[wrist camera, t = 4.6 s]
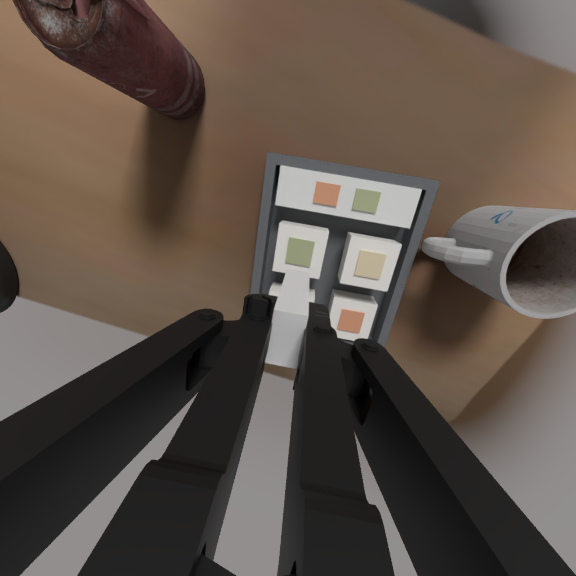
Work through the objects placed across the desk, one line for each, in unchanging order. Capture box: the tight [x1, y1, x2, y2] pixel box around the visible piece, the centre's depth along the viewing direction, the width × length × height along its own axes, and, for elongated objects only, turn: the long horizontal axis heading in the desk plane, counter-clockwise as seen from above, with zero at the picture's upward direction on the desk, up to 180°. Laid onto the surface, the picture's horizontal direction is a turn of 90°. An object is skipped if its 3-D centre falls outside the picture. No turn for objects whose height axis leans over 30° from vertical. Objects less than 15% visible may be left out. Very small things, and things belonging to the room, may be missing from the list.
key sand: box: [338, 232, 402, 292], centre depth 28 cm, size 5×5×3 cm
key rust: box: [328, 289, 378, 341], centre depth 32 cm, size 5×5×3 cm
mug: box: [421, 206, 576, 318], centre depth 25 cm, size 12×9×10 cm
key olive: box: [272, 220, 329, 279], centre depth 28 cm, size 5×5×3 cm
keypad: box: [250, 152, 440, 348], centre depth 30 cm, size 17×20×3 cm
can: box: [13, 0, 205, 119], centre depth 21 cm, size 6×6×14 cm
